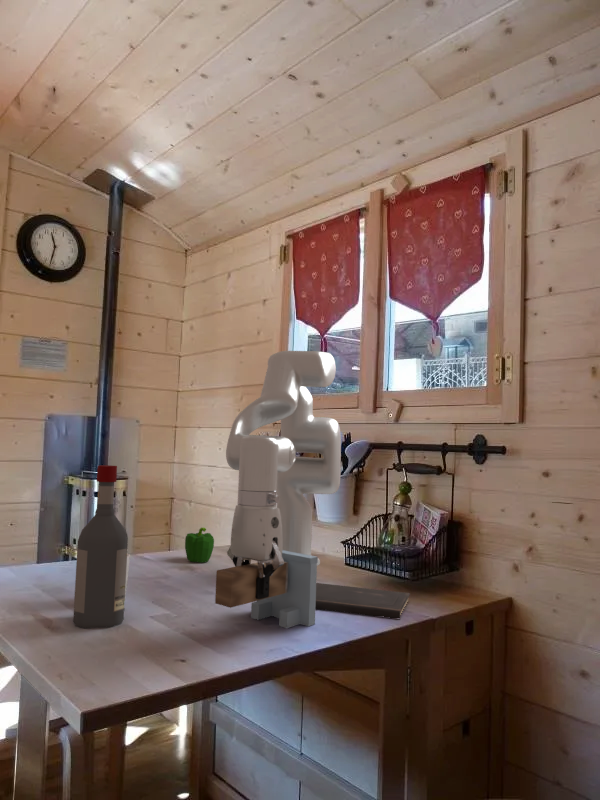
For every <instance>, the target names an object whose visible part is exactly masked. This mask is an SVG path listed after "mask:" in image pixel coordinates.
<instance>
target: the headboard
mask: <svg viewBox="0 0 600 800" xmlns="http://www.w3.org/2000/svg"><path fill="white" fill-rule="evenodd" d="M282 558H283V560H284V562H288V585H287V593H284V594H281V595H277V596H273V597H269V598H265V599H262V600H258V601H254V602H251V604H250V605H251V607H250V608H251V610H250V618H251V619H253V620H256V619H257V621H260V620H263V619H266V618H268V617H269V618H270V617H273V616H274V617H273V618H277V619H279V620H278V621H279V622H278V623H279V624H278V627H281V628H285V629H289V628H291V627H295V626H297V625H302V626H303V625H304V626H306V627H311V626H314V625H315V624H316V609H315V607H316V583H317V576H318V574H317V571H318V569H317V568H318V565H317V563H318V559H319V557H318V556H315V555H312V554H311V555H306V554H300V553H295V552H290V551H284V550H282ZM272 560H273V559H272ZM265 617H266V618H265ZM262 618H263V619H262ZM259 619H260V620H259Z"/></svg>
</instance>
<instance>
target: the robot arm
mask: <svg viewBox="0 0 600 800" xmlns="http://www.w3.org/2000/svg"><path fill="white" fill-rule="evenodd" d="M336 370H337V368H336V360H335V358H334V356H333V355H332V354H331V353H330V352H324V351H318V350H281V351H278V352H276V353H273V354H272V355H269V358H268V359H267V368H266V372H265V376H264V381H263V385H262V389H261V393H260V396H259V397H258V398H256V399H255V400H254V401H252V402H251V403H249V404H248V405H247V406H246V407H244V408H243V410H242V411H240V413H238V415H237V416H236V417H235V419H234V420H233V423H232V425H231V428H230V432H229V434H228V435H229V436H228V439H227V444H226V449H225V459H226V463H227V465H228V466H229V467H230V468H231V469H233V470H235V471H238V482H237V483H238V486H237V487H238V489H237V505H235V508H234V514H233V518H232V524H231V531H230V532H231V533H230V546H229V547H228V550H227V552H226V554H227V557H229V558H230V560H231V561H232V563H233V565H234V567H236V566H242V565H247V564H252V561H255V562H256V563H257V562H258V572H259V577H257V579H256V599H262V598H266V597H268V596H269V582H270V576H272V575H273V572H274V571H275V570H276V569H277V568H279V567H280V566H282V565H283V564H284V560H283V558H282V550H284V551H290V552H295V553H300V554H306V555H311V556H312V540H313V539H312V535H313V508H312V506H311V504H310V502H309V501H308V500H307V498H306V497H305V494H309V495H311V494H313V495H314V494H315V495H333V494H336V493H337V492H338V490H339V489H340V485H341V474H342V473H341V471H342V470H341V468H342V465H341V463H342V460H341V457H342V456H341V454H342V453H341V452H342V440H341V439H342V436H341V435H342V433H341V427H340V424H339V421H337V420H336V419H334V418H333V417H332V418H331V417H325V416H324V417H322V416H320V417H319V416H314V406H313V405H314V400H313V396H312V393H311V392H310V390H309V389H308V388H309V387H310V388H327V387H330V385H332V384H333V382H334V380H335V377H336V374H337V373H336ZM279 421H280V436H279V435H262V434H261V435H257V434H251V433H253V432H254V431H255V430H257V429H259V428H262V427H264V426H267V425H270V424H273V423H276V422H279ZM297 453H306V454H309V453H310V454H320V455H321V456H322V457H309V456H307V457H306V456H296V454H297ZM272 559H273V562H272ZM264 563H266V568H265V567H264ZM320 564H321V560H320V558H318V563H317V566H319V565H320Z"/></svg>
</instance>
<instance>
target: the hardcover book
mask: <svg viewBox="0 0 600 800" xmlns="http://www.w3.org/2000/svg"><path fill="white" fill-rule="evenodd" d="M410 596H411V593H409V592H403V591H402V592H401V591H393V590H392V591H391V590H384V589H376V588H366V587H358V586H357V587H356V586H348V585H341V584H340V585H339V584H330V583H320V582H316V607H315V610H320V611H327V612H337V613H344V614H352V615H353V614H354V615H359V616H360V615H362V616H368V617H369V616H370V617H375V616H384V617H390V618H389V619H392V618H400V619H401V616H402V614H401V613H403V612H404V610H405V608H406V607H405V606H407V605H406V604H408V603H409V598H410ZM407 602H408V603H407ZM404 607H405V608H404ZM403 609H404V610H403ZM402 611H403V612H402ZM400 615H401V616H400Z"/></svg>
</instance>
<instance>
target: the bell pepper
mask: <svg viewBox="0 0 600 800" xmlns="http://www.w3.org/2000/svg"><path fill="white" fill-rule="evenodd" d="M206 531H207V528H206V527H200V528H199V530H198V532H196V533H193V532H191V533H190V532H189V533H187V534H186V536H185V539H184V540H185V541H184V549H185V554H186V558H187V560H188V562H190V563H201V564H202V563H207V562H208V563H209V560H210V559H211V557H212V554H213V550H214V547H215V539H214V536H213V535H212V533H210V532H206ZM203 532H205V533H203Z"/></svg>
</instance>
